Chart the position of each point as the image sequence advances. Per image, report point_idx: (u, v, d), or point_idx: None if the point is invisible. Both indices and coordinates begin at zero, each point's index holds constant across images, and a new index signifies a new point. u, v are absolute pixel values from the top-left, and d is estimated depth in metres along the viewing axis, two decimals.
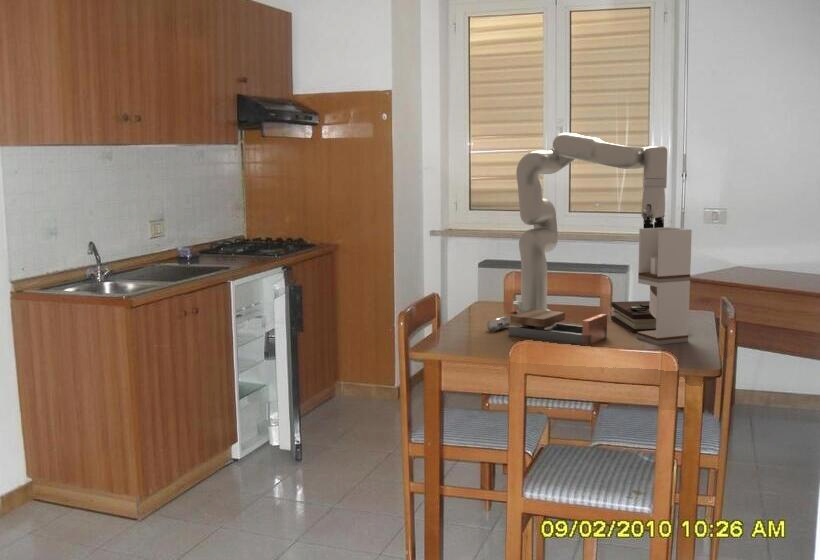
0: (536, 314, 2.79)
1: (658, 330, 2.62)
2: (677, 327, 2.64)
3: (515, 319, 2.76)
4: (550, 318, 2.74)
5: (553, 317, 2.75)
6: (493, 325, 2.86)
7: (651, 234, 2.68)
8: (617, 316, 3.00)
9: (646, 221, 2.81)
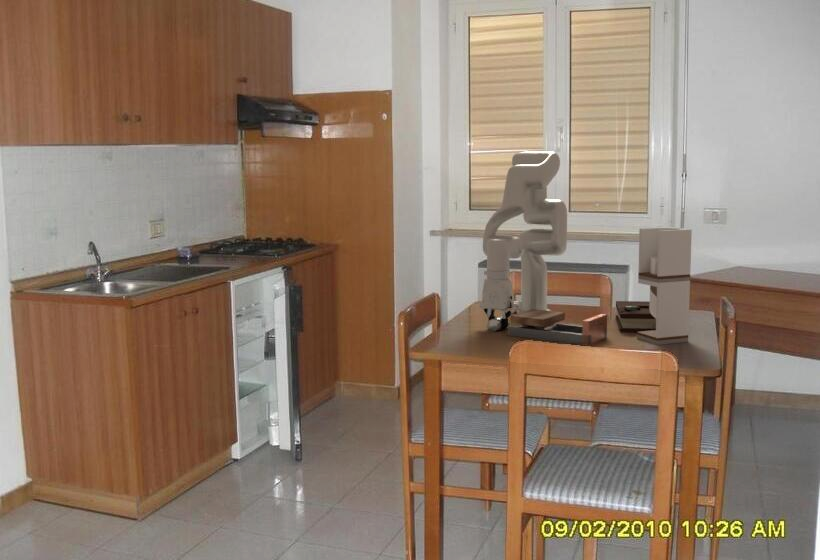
0: (536, 314, 2.79)
1: (658, 330, 2.62)
2: (677, 327, 2.64)
3: (515, 319, 2.76)
4: (550, 318, 2.74)
5: (553, 317, 2.75)
6: (493, 325, 2.85)
7: (651, 234, 2.68)
8: None
9: (508, 315, 2.86)
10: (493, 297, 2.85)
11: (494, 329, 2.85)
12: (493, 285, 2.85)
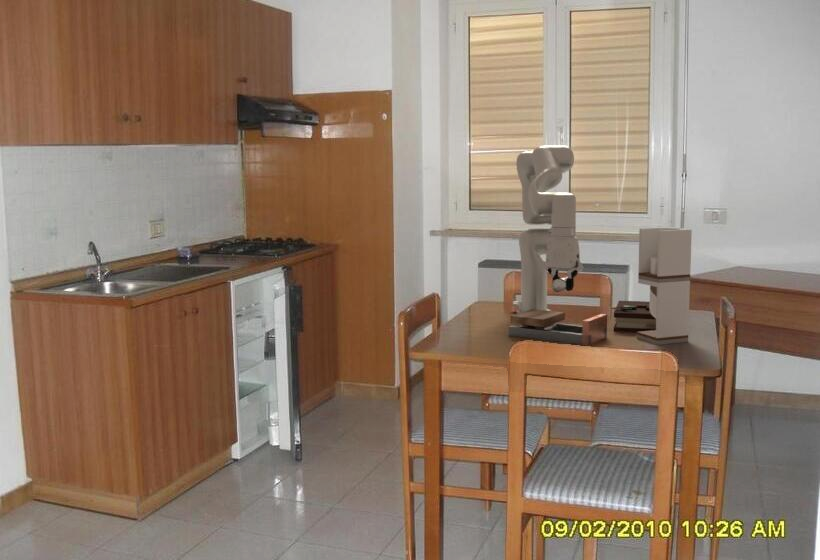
0: (536, 314, 2.79)
1: (658, 330, 2.62)
2: (677, 327, 2.64)
3: (515, 319, 2.76)
4: (550, 318, 2.74)
5: (553, 317, 2.75)
6: (558, 285, 2.69)
7: (651, 234, 2.68)
8: None
9: (574, 275, 2.70)
10: (558, 255, 2.69)
11: (559, 289, 2.69)
12: (559, 243, 2.69)
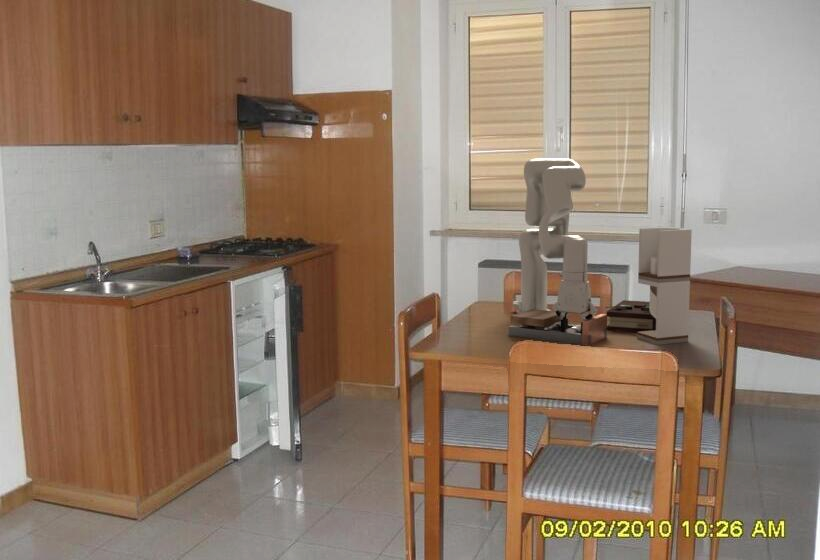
0: (536, 314, 2.79)
1: (658, 330, 2.62)
2: (677, 327, 2.64)
3: (515, 319, 2.76)
4: (550, 318, 2.74)
5: (553, 317, 2.75)
6: None
7: (651, 234, 2.68)
8: None
9: None
10: (570, 299, 2.69)
11: None
12: (570, 287, 2.68)
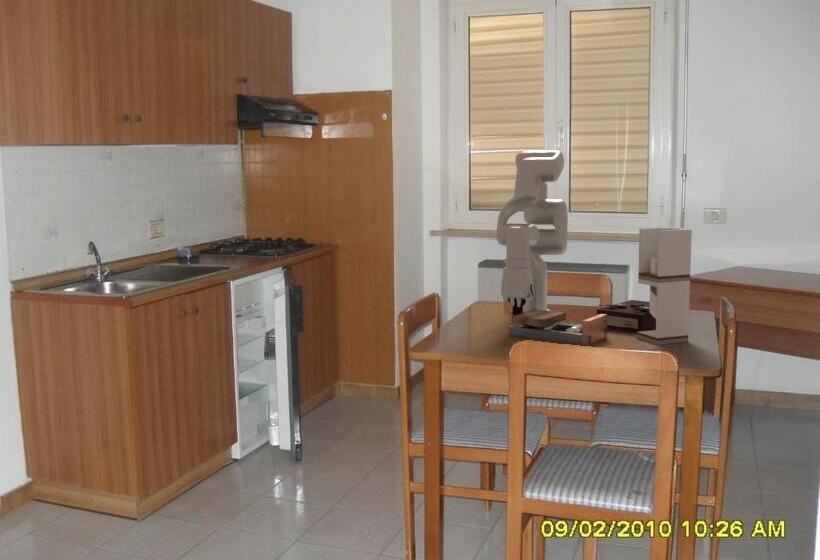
0: (537, 314, 2.79)
1: (658, 330, 2.62)
2: (677, 327, 2.64)
3: (516, 320, 2.76)
4: (551, 318, 2.74)
5: (554, 317, 2.75)
6: None
7: (651, 234, 2.68)
8: None
9: (523, 304, 2.82)
10: (512, 285, 2.81)
11: None
12: (513, 273, 2.80)
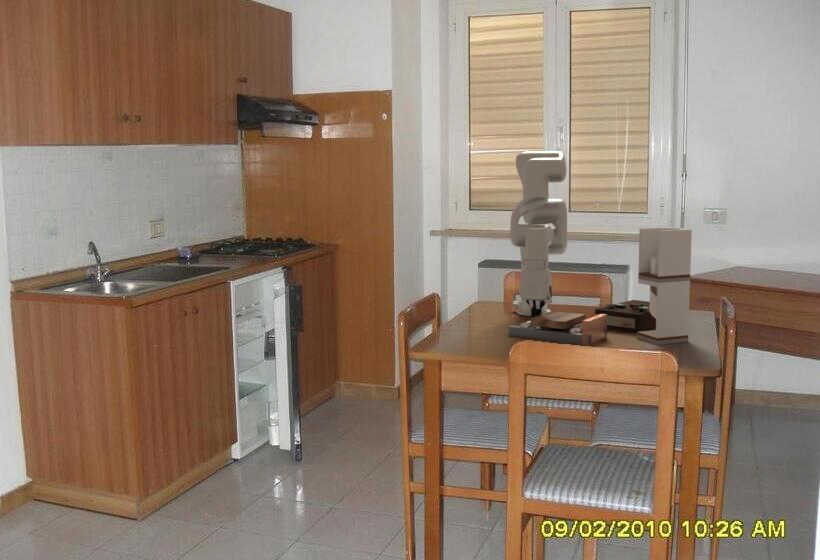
0: (556, 316, 2.75)
1: (658, 330, 2.62)
2: (677, 327, 2.64)
3: (535, 322, 2.72)
4: (571, 320, 2.69)
5: (574, 319, 2.71)
6: None
7: (651, 234, 2.68)
8: None
9: (542, 305, 2.78)
10: (531, 287, 2.76)
11: None
12: (532, 275, 2.76)
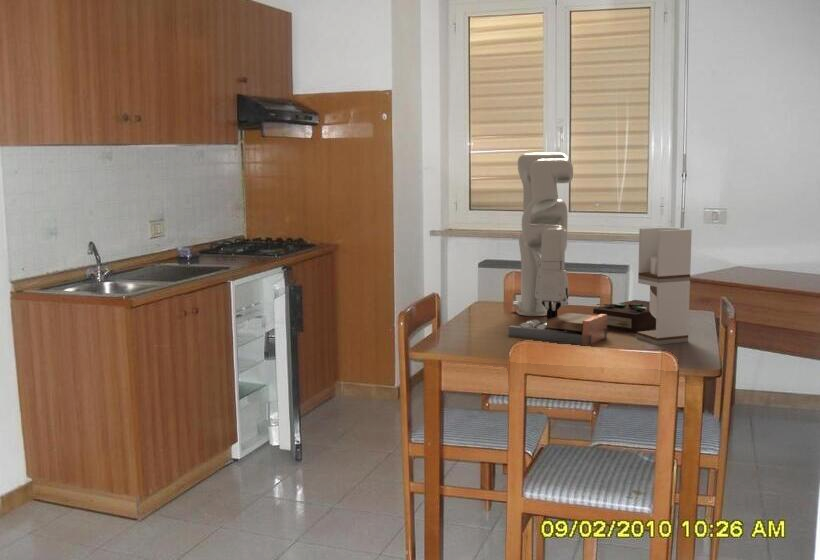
0: (573, 318, 2.71)
1: (658, 330, 2.62)
2: (677, 327, 2.64)
3: (551, 323, 2.69)
4: None
5: None
6: None
7: (651, 234, 2.68)
8: None
9: (558, 307, 2.75)
10: (547, 288, 2.73)
11: None
12: (548, 276, 2.72)
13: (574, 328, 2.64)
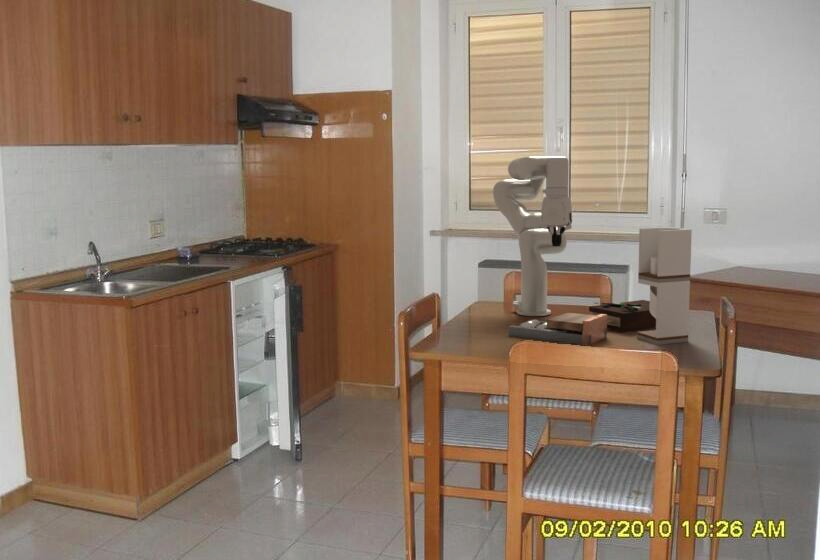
0: (573, 318, 2.71)
1: (658, 330, 2.62)
2: (677, 327, 2.64)
3: (551, 323, 2.69)
4: None
5: None
6: None
7: (651, 234, 2.68)
8: None
9: (562, 232, 2.94)
10: (552, 213, 2.92)
11: None
12: (553, 202, 2.92)
13: (574, 328, 2.64)
